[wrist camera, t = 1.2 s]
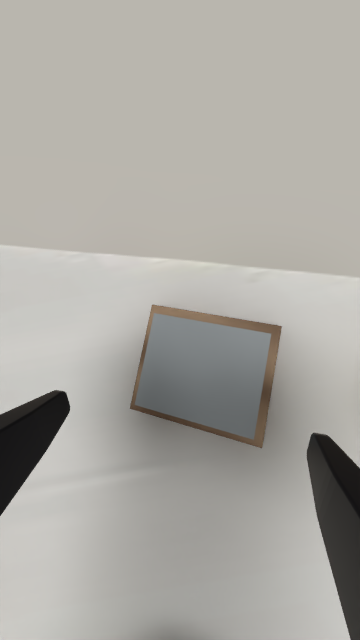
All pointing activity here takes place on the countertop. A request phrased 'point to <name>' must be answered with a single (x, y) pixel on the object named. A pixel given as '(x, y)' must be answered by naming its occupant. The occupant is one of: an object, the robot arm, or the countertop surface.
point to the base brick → (231, 322)
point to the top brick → (204, 373)
